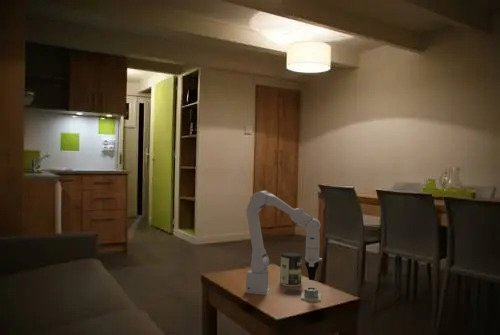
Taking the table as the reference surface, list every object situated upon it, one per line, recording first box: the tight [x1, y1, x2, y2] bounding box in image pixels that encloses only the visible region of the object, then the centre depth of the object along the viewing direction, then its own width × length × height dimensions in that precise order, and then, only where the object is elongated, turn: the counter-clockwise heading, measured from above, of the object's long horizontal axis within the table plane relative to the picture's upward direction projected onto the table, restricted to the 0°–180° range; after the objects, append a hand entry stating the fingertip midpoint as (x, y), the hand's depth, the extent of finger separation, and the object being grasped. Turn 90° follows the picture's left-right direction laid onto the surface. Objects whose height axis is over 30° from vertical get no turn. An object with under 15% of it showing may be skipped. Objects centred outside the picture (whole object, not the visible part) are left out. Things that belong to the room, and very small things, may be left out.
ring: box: [303, 286, 319, 298], centre depth 161 cm, size 6×6×3 cm
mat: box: [283, 288, 303, 296], centre depth 167 cm, size 7×7×1 cm
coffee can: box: [279, 251, 303, 287], centre depth 180 cm, size 10×10×14 cm
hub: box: [300, 289, 322, 303], centre depth 161 cm, size 8×8×4 cm
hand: (311, 279), depth 161 cm, fingers closed
